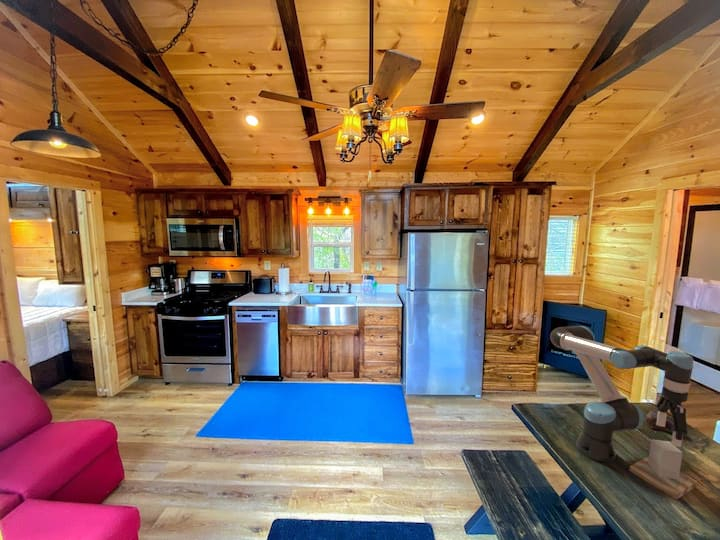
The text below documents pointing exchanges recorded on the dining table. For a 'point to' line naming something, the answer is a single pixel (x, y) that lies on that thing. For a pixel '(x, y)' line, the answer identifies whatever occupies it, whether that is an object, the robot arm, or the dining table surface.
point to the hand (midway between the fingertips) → (667, 435)
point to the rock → (652, 421)
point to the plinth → (663, 480)
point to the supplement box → (665, 459)
